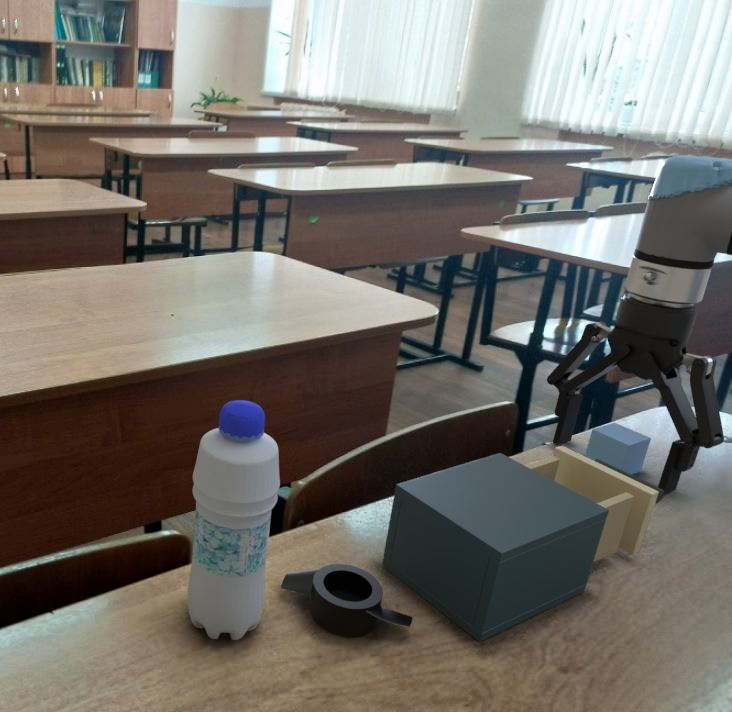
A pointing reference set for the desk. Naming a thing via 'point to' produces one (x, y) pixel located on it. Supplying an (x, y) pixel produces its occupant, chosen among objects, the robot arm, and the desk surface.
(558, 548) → the cabinet
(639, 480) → the drawer
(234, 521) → the bottle
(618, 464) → the soap block
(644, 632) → the desk surface
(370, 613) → the black winged ring
